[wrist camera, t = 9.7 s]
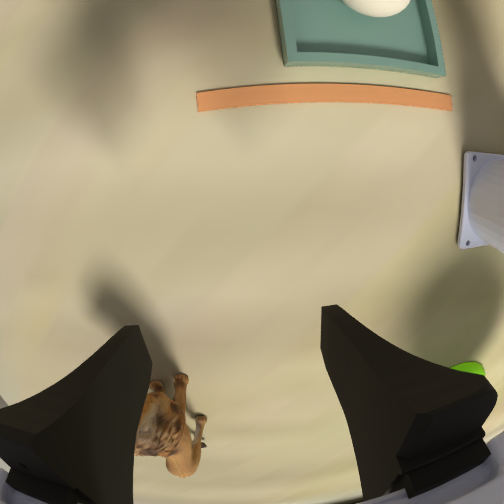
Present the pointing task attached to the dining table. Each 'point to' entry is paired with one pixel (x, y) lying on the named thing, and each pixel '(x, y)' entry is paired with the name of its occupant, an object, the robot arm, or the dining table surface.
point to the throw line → (320, 96)
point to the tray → (360, 37)
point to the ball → (377, 7)
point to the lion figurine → (169, 429)
